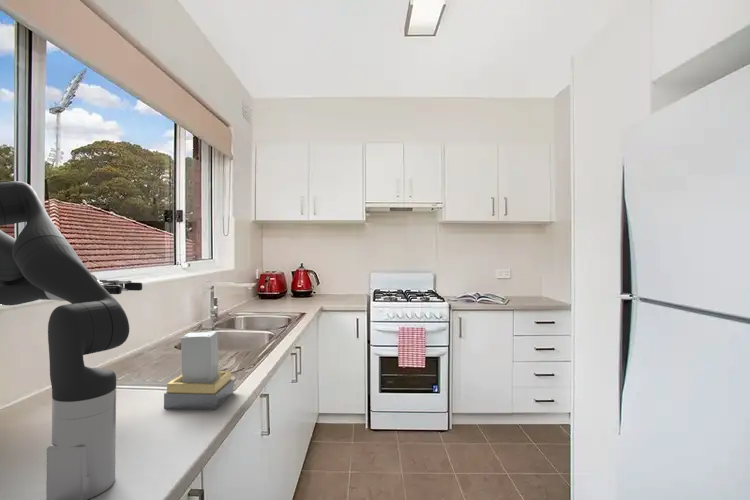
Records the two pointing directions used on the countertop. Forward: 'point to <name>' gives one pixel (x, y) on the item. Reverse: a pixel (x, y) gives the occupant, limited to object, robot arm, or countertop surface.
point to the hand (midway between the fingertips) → (131, 288)
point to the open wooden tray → (198, 393)
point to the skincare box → (199, 357)
